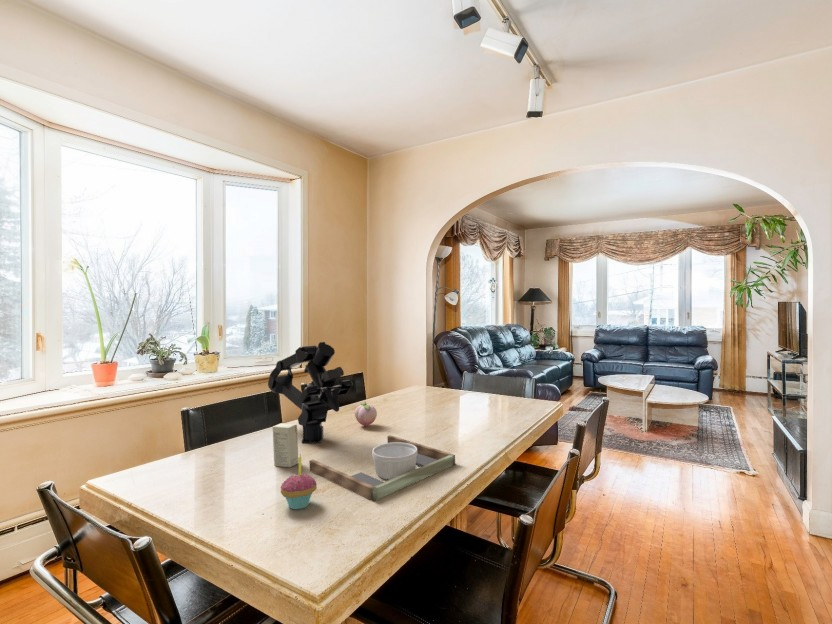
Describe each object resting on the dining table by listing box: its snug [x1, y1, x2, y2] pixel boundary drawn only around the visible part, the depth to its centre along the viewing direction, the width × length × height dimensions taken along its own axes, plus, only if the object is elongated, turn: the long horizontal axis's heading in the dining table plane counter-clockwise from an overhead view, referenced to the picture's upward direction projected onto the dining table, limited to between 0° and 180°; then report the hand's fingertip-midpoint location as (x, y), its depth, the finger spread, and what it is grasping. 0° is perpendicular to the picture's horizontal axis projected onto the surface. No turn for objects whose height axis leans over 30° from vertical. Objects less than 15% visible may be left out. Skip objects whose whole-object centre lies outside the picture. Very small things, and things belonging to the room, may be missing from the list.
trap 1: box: [350, 471, 385, 486], centre depth 116 cm, size 10×6×1 cm, turn 46°
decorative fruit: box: [354, 401, 378, 428], centre depth 170 cm, size 9×8×10 cm
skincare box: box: [272, 422, 299, 468], centre depth 131 cm, size 6×4×12 cm
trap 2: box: [416, 453, 436, 468], centre depth 132 cm, size 10×6×1 cm, turn 46°
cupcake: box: [280, 453, 318, 510], centre depth 104 cm, size 9×8×12 cm
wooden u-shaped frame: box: [309, 434, 456, 502], centre depth 127 cm, size 29×32×3 cm
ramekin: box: [371, 442, 418, 481], centre depth 123 cm, size 13×13×7 cm
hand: (337, 410), depth 143 cm, fingers closed
